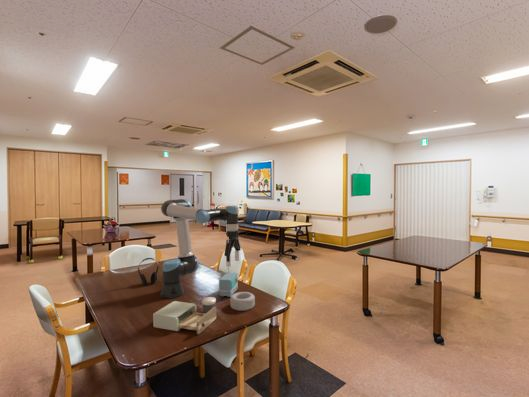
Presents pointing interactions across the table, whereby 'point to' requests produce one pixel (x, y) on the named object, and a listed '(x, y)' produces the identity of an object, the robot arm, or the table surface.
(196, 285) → the table surface
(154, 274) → the headphones
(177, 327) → the drawer cabinet
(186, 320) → the wooden drawer
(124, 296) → the table surface
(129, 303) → the table surface
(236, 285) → the radio
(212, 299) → the white smooth rounded piece
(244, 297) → the donut shape
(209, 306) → the block
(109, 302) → the table surface
